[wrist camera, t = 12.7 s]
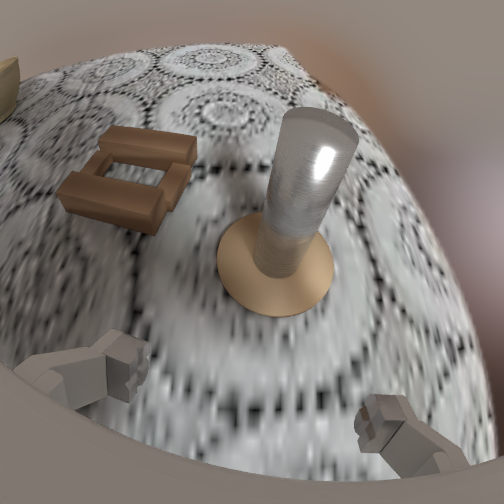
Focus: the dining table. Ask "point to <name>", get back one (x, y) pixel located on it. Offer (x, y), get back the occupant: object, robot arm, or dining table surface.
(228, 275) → the cork pad
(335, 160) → the grey rounded cylinder
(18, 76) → the planter bowl
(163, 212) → the cradle
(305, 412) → the dining table surface
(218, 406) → the dining table surface
